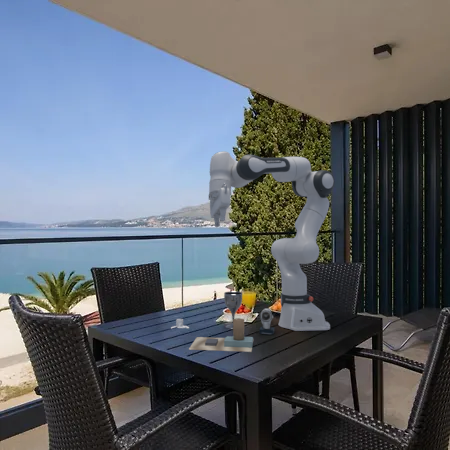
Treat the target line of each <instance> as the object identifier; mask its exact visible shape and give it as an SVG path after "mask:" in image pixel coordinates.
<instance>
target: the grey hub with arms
mask: <svg viewBox="0 0 450 450" xmlns="http://www.w3.org/2000/svg"><path fill="white" fill-rule="evenodd" d="M175 324H176V325H173V326H171V327H170V329H171V330H172V329H175V328H177V329H190V326H187V325H184V319H183V318H177V319H176V320H175Z"/></svg>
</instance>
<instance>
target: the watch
mask: <svg viewBox="0 0 450 450" xmlns="http://www.w3.org/2000/svg"><path fill="white" fill-rule="evenodd" d="M259 319H260V320H261V321H260V322H261V324H262V326H260V327H259V334H261V335H262V334H263V335H274V333H275V327H272V326H271V322H272V320H273V319H274V315H273V314H272V310H271V308H263V310H262V311H261V312H260V315H259Z"/></svg>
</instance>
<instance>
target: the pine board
mask: <svg viewBox="0 0 450 450" xmlns="http://www.w3.org/2000/svg"><path fill="white" fill-rule="evenodd" d="M225 338H226V337H211V336H210V337H205V336H204V337H203V336H198V337H197V336H196V337H195V339H194V341H193V342H192V344H191V345H190V347H188V350H191V351H218V352H219V351H220V352H221V351H223V352H246V353H247V352H248V353H252V351H253V347H252V348H251V347H224V340H225ZM207 339H218V343H217V345H216V346H206V345H205V342H206V340H207ZM253 341H254V338H253Z"/></svg>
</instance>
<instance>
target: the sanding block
mask: <svg viewBox="0 0 450 450" xmlns="http://www.w3.org/2000/svg"><path fill="white" fill-rule="evenodd" d="M232 322H233V329H232V332H233V333H232V336H231V335H227V336H225V337H224V338H225V340H224V347H251V348H252V349H253V344H254V340H253V339H254V336H245V319H244V318H241V317H239V318H234V319H233V320H232Z"/></svg>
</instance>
